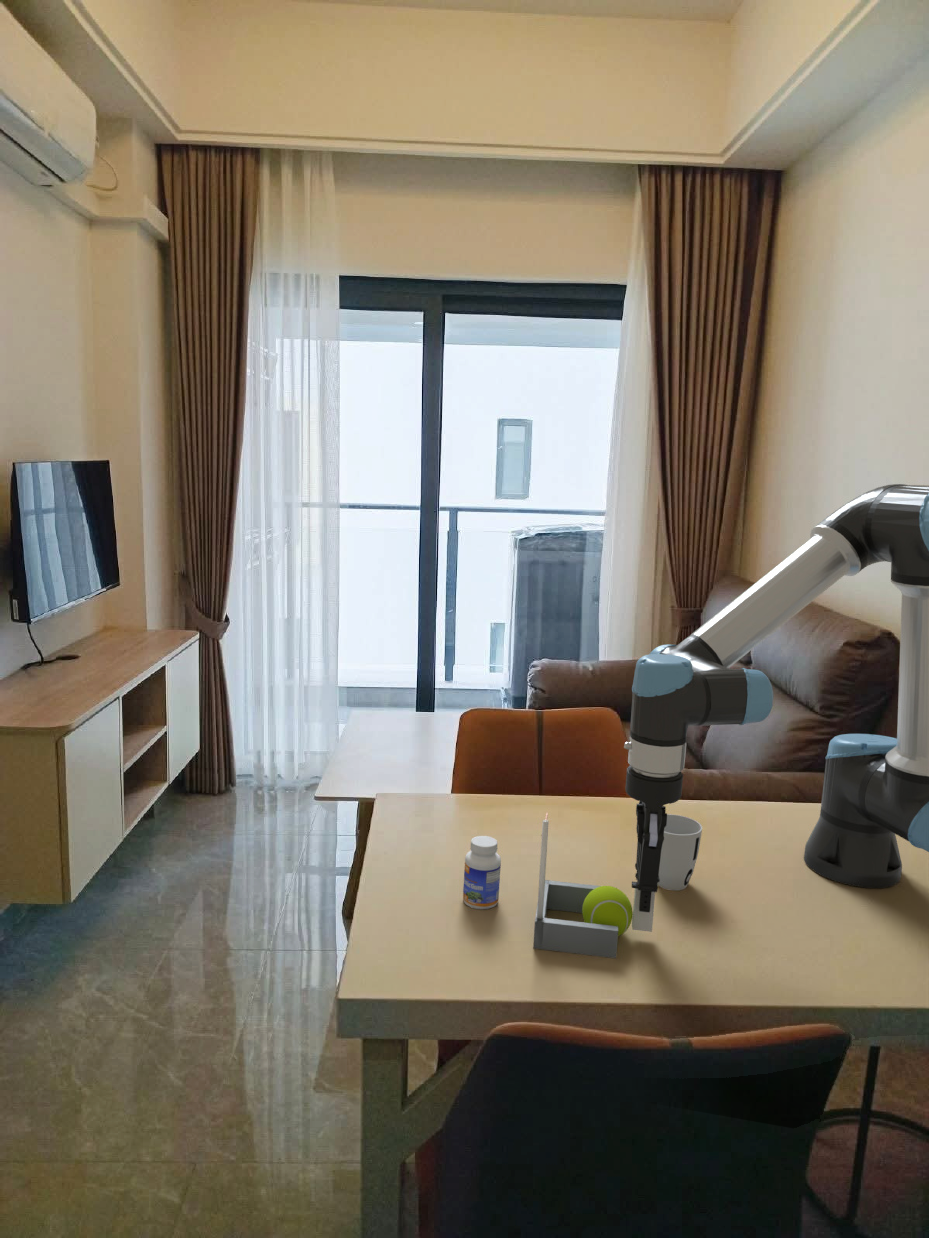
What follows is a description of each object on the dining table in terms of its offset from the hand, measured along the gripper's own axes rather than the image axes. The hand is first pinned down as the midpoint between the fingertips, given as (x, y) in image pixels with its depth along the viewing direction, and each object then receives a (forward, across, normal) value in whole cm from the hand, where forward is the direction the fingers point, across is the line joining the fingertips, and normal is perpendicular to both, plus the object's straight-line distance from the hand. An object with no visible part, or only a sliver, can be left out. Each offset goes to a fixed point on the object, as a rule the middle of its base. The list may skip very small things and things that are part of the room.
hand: (641, 927), depth 122 cm
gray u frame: (+2, 0, -9) cm, 9 cm away
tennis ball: (+2, 0, -5) cm, 5 cm away
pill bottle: (+2, -5, -24) cm, 24 cm away
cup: (+2, -18, +6) cm, 19 cm away
